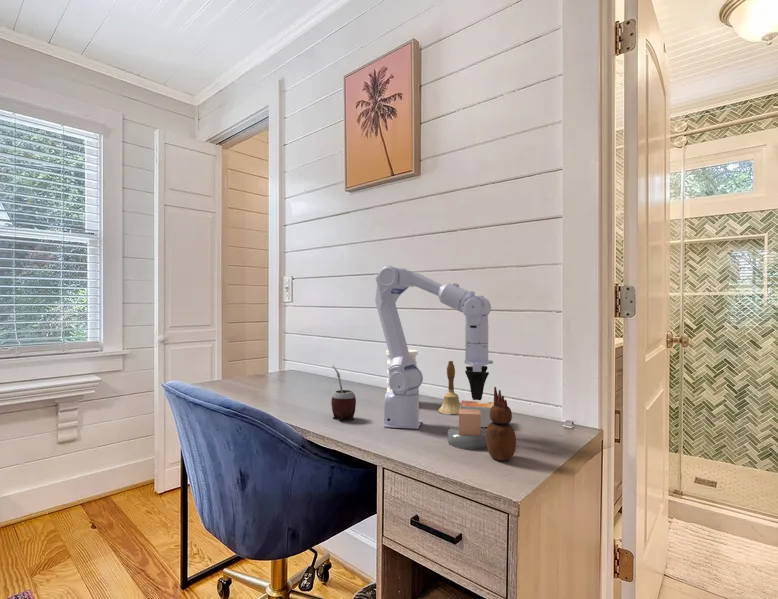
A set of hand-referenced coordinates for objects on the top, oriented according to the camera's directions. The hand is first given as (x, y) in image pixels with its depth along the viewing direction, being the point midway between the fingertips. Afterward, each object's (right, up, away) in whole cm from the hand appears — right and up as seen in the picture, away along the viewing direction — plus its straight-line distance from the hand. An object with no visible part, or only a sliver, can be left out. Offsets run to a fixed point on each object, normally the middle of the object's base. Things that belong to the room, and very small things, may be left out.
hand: (476, 396), depth 108 cm
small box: (+9, -8, +11) cm, 16 cm away
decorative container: (-18, -11, +37) cm, 43 cm away
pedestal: (-3, -10, -6) cm, 12 cm away
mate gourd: (-36, -10, +16) cm, 41 cm away
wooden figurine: (+2, -10, -16) cm, 19 cm away
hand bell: (-3, -11, +25) cm, 28 cm away
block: (-3, -7, -6) cm, 10 cm away
